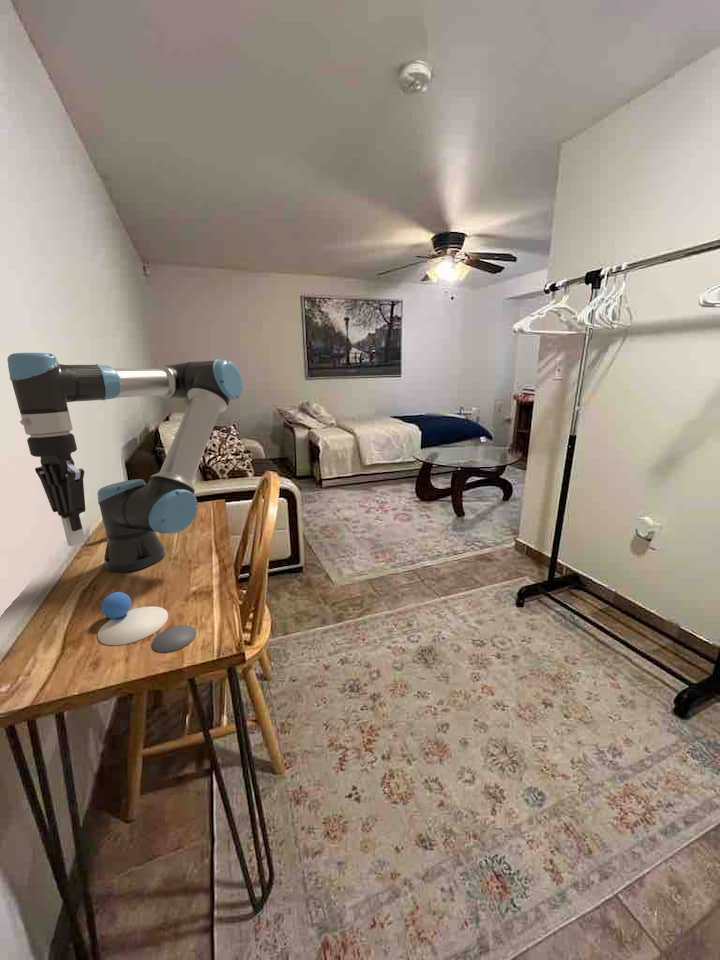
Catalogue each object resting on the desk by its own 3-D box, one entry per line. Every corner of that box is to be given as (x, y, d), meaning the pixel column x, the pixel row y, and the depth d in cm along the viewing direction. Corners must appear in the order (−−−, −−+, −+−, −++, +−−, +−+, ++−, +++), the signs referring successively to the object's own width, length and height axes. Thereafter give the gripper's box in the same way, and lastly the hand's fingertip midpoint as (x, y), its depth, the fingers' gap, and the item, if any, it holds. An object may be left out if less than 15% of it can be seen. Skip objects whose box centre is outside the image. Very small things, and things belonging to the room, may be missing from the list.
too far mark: (163, 627, 81) (163, 626, 81) (202, 625, 81) (202, 624, 81) (144, 653, 73) (143, 652, 73) (187, 651, 74) (186, 650, 74)
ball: (133, 589, 85) (137, 614, 85) (123, 587, 89) (126, 611, 89) (105, 598, 81) (109, 624, 81) (95, 595, 84) (99, 620, 84)
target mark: (120, 608, 88) (120, 608, 88) (178, 605, 89) (178, 604, 89) (82, 647, 76) (82, 646, 76) (150, 643, 76) (150, 642, 76)
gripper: (10, 436, 77) (40, 546, 83) (47, 438, 72) (76, 555, 78) (52, 431, 84) (77, 533, 90) (89, 432, 78) (113, 541, 84)
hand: (77, 543), depth 84 cm, fingers closed
